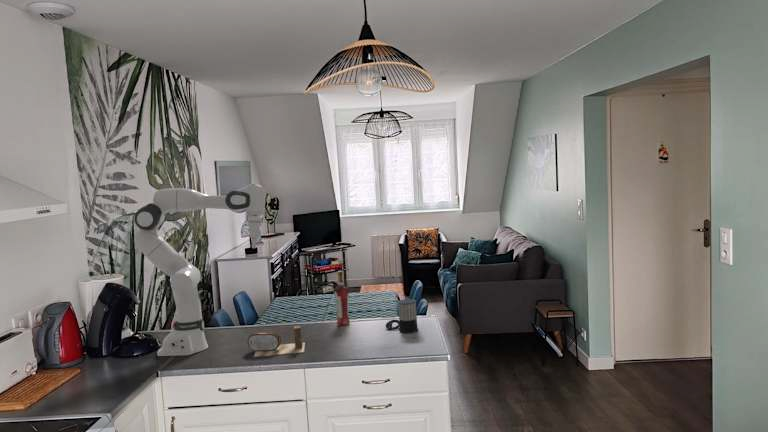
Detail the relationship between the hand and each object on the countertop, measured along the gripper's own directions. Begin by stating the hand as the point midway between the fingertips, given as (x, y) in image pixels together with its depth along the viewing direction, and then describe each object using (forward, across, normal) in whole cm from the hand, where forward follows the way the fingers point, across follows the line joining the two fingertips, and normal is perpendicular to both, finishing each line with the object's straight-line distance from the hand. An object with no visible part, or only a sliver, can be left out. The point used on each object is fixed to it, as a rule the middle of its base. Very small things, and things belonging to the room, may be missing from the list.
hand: (253, 248), depth 269 cm
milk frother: (+38, -1, +72) cm, 82 cm away
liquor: (+38, -23, +47) cm, 65 cm away
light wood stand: (+46, +7, +14) cm, 49 cm away
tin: (+46, +6, +7) cm, 47 cm away
